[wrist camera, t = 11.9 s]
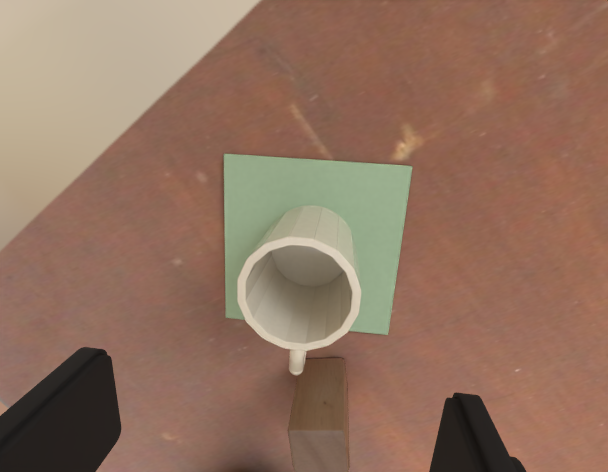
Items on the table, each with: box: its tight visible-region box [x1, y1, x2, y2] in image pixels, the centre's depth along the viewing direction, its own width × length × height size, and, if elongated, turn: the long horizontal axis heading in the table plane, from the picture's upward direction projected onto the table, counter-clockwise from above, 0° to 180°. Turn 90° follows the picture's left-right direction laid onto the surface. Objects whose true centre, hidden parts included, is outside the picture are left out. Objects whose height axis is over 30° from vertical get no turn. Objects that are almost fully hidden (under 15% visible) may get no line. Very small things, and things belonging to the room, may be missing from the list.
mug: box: [237, 205, 361, 375], centre depth 24 cm, size 10×7×8 cm
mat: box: [224, 154, 412, 335], centre depth 28 cm, size 14×14×1 cm
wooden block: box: [288, 358, 350, 472], centre depth 27 cm, size 4×4×8 cm
